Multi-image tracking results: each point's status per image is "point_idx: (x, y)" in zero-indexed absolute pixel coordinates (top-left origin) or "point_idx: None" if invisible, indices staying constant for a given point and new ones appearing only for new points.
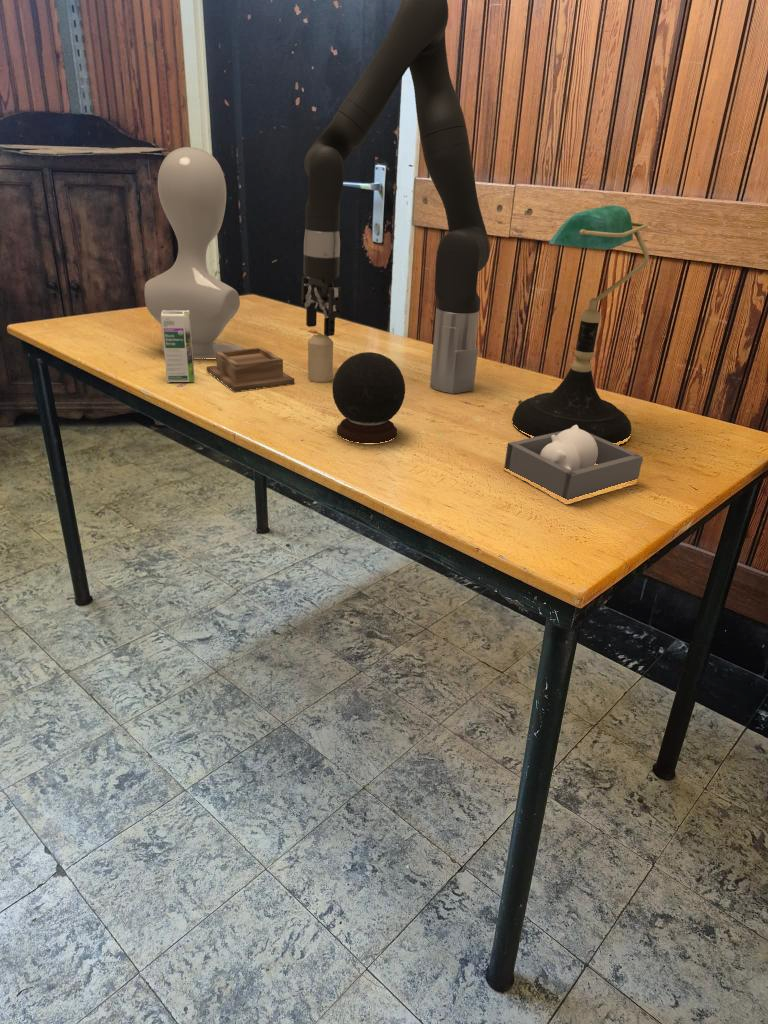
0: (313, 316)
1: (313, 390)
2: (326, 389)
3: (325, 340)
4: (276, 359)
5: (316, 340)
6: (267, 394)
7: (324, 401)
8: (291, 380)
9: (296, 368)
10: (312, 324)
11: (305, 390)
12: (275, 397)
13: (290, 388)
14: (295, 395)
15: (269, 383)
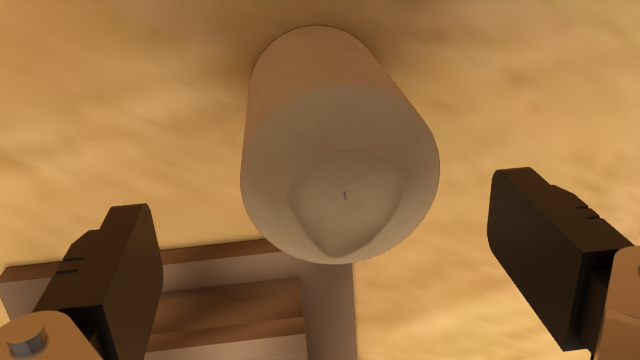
0: (133, 285)
1: (462, 184)
2: (477, 125)
3: (422, 183)
4: (294, 358)
5: (389, 241)
6: (425, 347)
7: (608, 192)
8: None
9: (88, 138)
10: (153, 244)
11: (446, 214)
12: (469, 333)
13: (395, 259)
14: (484, 267)
15: (355, 336)
